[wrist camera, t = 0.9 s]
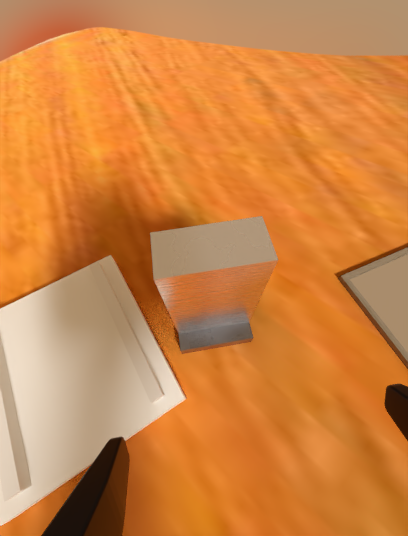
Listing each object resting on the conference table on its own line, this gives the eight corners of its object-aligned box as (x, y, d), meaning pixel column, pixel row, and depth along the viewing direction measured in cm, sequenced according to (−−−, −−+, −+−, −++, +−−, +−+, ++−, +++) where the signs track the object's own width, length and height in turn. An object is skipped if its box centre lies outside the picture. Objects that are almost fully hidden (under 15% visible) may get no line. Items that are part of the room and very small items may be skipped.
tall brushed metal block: (250, 341, 23) (287, 285, 12) (182, 353, 23) (155, 307, 12) (236, 284, 26) (255, 197, 15) (175, 294, 25) (148, 212, 14)
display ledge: (186, 398, 21) (183, 397, 18) (16, 516, 17) (-15, 534, 15) (115, 261, 27) (106, 248, 25) (-18, 327, 24) (-42, 319, 22)
